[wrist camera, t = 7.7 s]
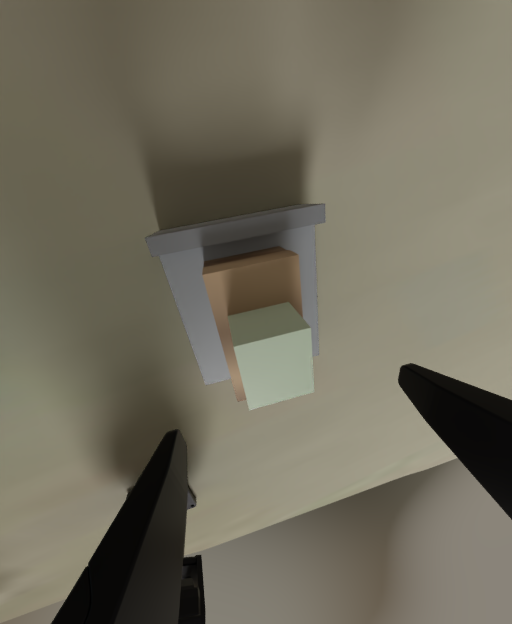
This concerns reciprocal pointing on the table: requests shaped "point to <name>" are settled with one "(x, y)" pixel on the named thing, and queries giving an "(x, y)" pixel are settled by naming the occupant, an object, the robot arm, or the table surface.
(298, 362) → the pale green block
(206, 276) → the brown cardboard box
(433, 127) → the table surface
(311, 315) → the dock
